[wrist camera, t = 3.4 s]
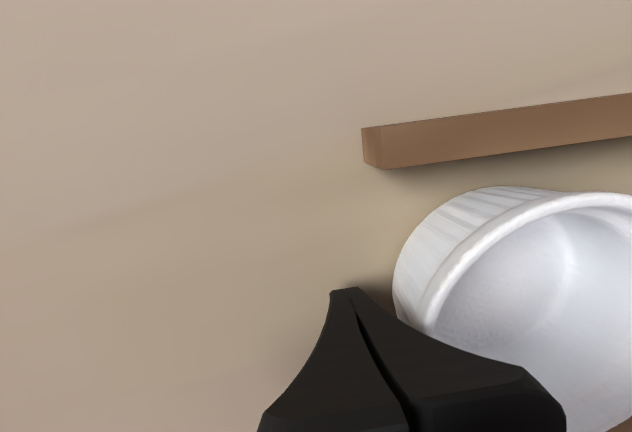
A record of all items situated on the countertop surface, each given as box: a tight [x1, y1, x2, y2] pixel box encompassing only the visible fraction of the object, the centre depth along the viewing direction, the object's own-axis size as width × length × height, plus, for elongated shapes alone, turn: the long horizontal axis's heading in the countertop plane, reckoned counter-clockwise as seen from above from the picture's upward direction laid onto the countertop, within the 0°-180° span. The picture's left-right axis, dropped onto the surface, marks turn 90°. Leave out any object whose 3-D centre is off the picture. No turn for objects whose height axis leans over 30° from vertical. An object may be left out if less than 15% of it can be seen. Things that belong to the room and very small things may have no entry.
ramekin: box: [392, 186, 632, 432], centre depth 11 cm, size 9×9×4 cm
